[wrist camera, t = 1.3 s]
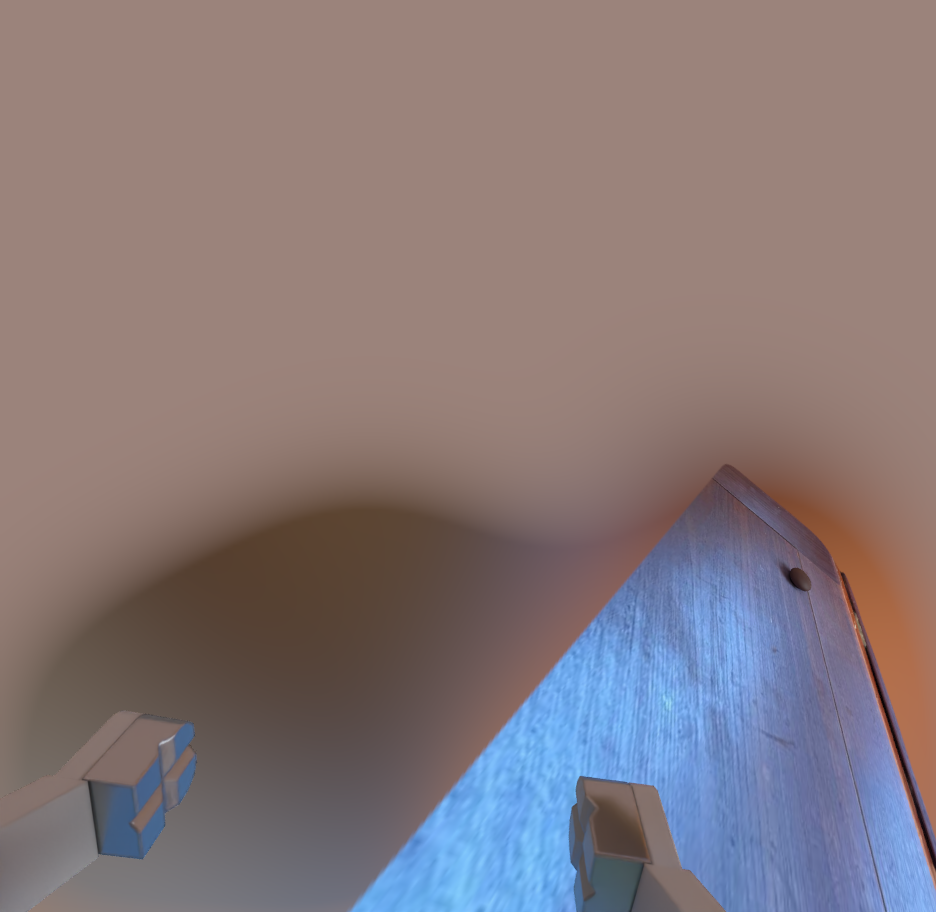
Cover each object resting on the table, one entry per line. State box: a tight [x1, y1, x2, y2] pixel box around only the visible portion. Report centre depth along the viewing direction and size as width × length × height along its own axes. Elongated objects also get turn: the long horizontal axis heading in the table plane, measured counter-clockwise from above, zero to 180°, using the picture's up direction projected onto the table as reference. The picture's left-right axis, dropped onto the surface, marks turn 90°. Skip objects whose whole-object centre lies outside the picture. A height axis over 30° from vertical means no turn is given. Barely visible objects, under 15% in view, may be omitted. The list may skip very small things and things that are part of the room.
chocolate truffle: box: [790, 568, 811, 591], centre depth 64 cm, size 3×3×2 cm
